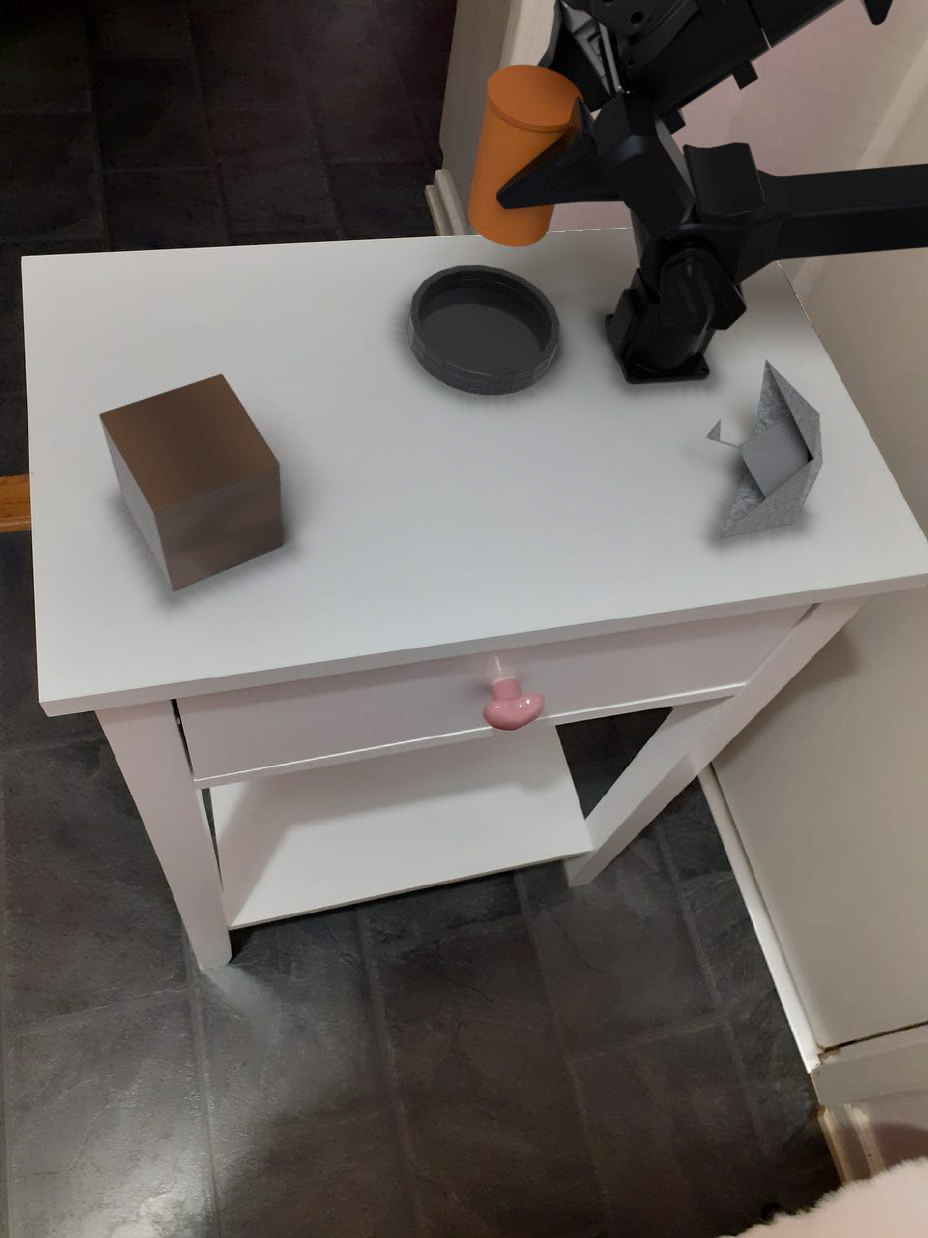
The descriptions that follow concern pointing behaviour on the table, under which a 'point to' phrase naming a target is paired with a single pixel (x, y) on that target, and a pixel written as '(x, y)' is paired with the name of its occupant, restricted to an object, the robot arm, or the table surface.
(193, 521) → the block
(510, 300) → the pan
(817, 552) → the table surface
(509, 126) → the orange tin can
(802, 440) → the paper boat
